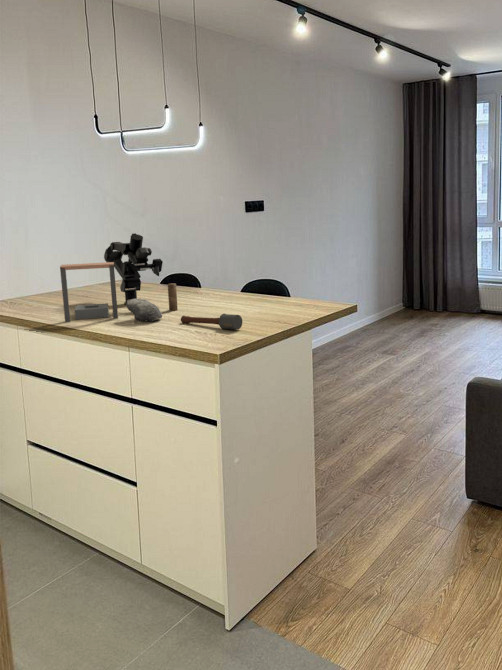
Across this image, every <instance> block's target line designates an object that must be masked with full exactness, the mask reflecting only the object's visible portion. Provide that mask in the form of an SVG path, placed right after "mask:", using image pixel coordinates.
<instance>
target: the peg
mask: <svg viewBox="0 0 502 670" xmlns="http://www.w3.org/2000/svg"><path fill="white" fill-rule="evenodd" d="M167 294H168V311H170V312H171V311H172V312H173V311H174V312H175V311H178V309H179V308H178V294H177V283H167Z"/></svg>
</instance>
